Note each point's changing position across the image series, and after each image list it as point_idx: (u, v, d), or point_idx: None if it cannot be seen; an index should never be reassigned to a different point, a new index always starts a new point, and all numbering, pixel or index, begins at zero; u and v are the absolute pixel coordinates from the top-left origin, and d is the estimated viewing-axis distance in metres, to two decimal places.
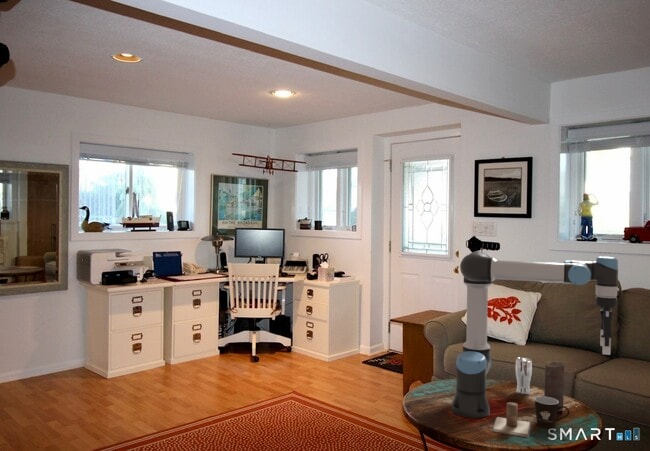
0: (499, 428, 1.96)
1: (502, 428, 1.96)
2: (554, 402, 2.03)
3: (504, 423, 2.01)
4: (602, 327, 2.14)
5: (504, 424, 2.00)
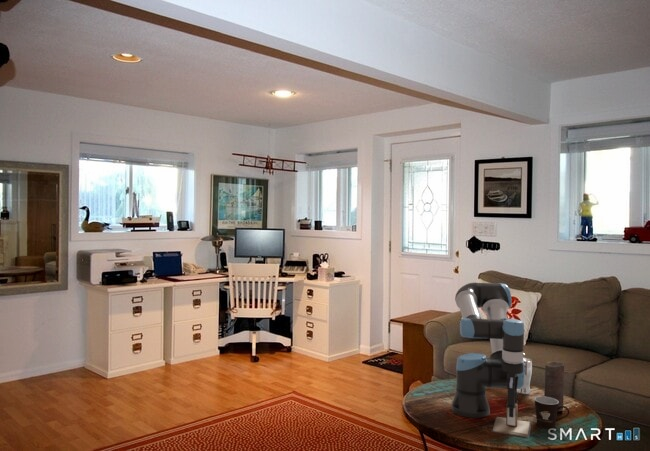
0: (499, 428, 1.96)
1: (502, 428, 1.96)
2: (554, 402, 2.03)
3: (504, 423, 2.01)
4: None
5: (504, 424, 2.00)
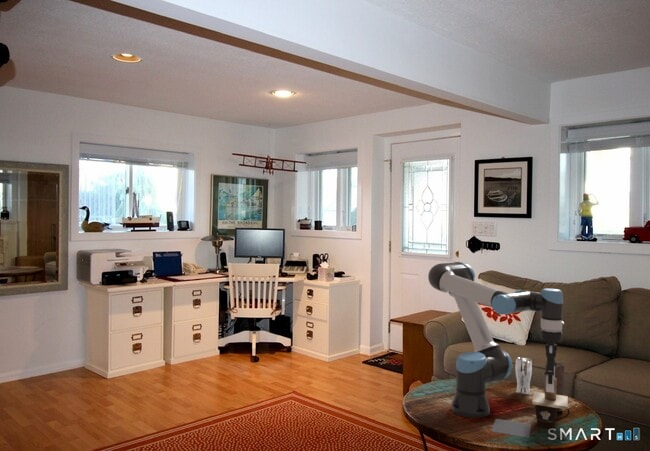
0: (538, 401, 1.98)
1: (541, 401, 1.98)
2: None
3: (542, 397, 2.03)
4: None
5: (542, 398, 2.02)
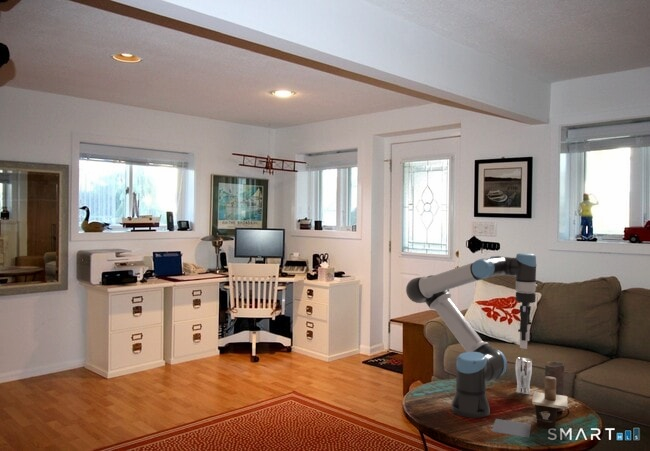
0: (538, 401, 1.98)
1: (541, 401, 1.98)
2: None
3: (542, 397, 2.03)
4: None
5: (542, 398, 2.02)
